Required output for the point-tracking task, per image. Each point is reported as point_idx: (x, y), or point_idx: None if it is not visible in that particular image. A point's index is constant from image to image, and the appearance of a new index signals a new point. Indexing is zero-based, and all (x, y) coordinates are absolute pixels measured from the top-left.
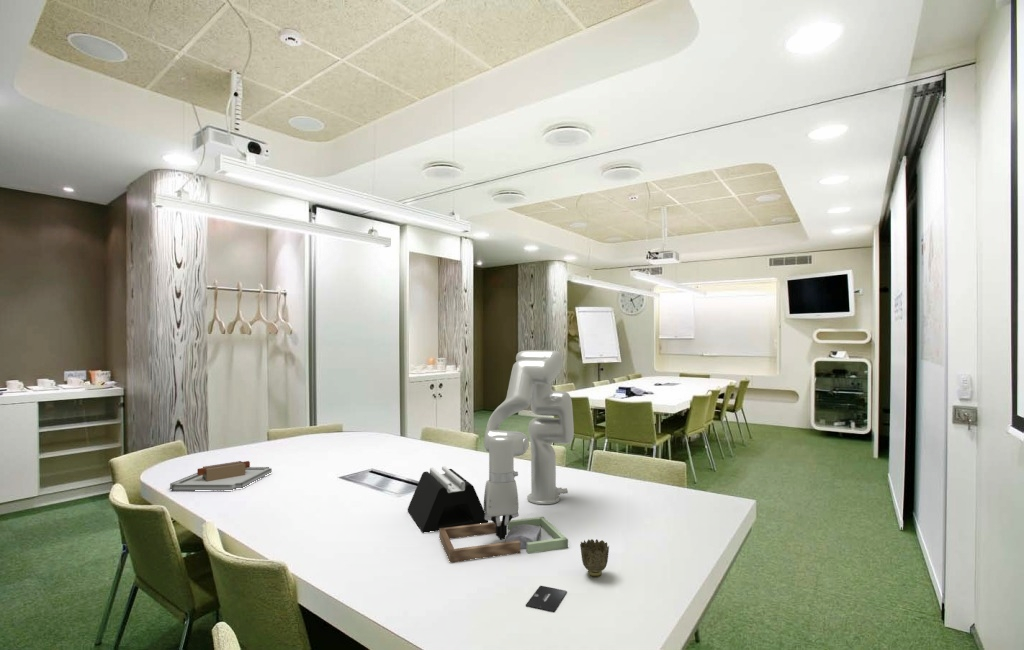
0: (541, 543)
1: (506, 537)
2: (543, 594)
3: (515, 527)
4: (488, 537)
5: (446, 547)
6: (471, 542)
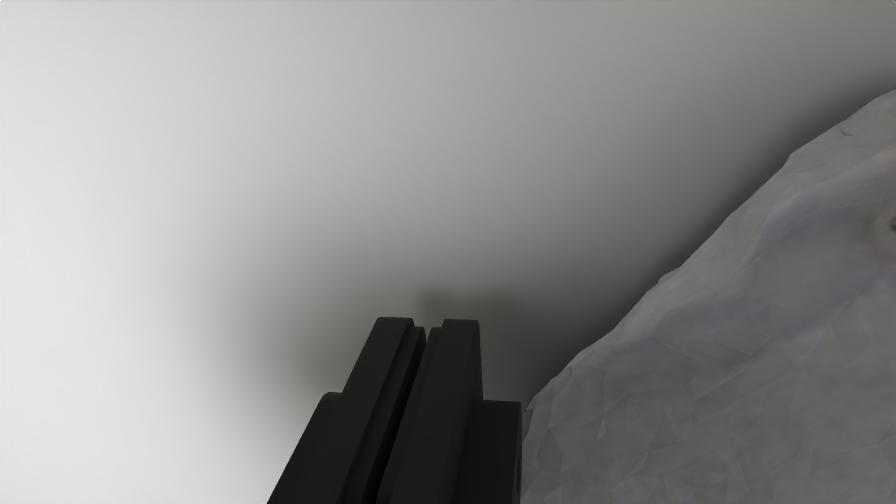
0: None
1: None
2: None
3: (890, 220)
4: (264, 80)
5: None
6: (2, 203)
